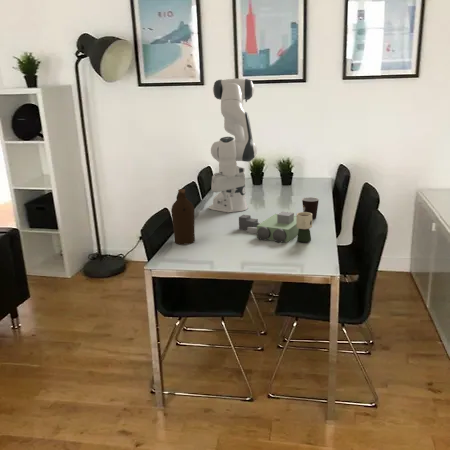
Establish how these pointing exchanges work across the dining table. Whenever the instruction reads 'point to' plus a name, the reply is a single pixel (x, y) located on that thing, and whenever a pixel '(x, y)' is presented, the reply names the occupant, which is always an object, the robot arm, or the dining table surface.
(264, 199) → the dining table surface
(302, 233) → the character mug
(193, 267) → the dining table surface
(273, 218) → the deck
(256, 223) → the grey stepped block
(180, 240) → the olive oil
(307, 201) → the coffee mug
